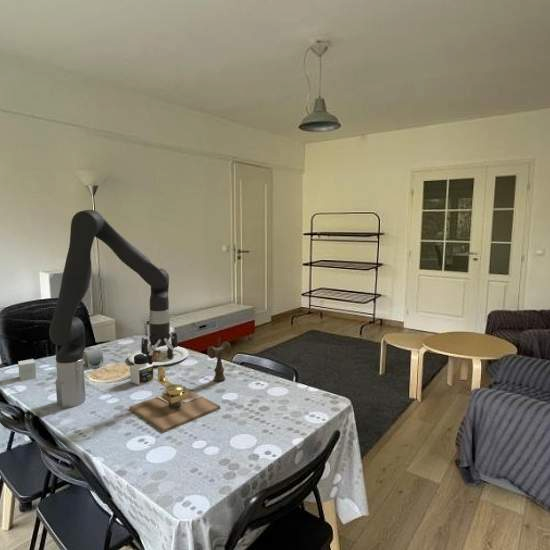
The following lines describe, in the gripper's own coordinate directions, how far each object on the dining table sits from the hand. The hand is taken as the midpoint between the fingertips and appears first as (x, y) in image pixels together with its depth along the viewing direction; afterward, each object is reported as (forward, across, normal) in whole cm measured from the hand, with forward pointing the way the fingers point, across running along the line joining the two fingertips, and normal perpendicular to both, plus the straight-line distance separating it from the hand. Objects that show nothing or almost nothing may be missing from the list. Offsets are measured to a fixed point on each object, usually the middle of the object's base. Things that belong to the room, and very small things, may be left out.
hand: (160, 361), depth 153 cm
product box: (+17, -30, +63) cm, 71 cm away
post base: (+16, 0, -10) cm, 19 cm away
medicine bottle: (+16, +4, +22) cm, 28 cm away
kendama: (+16, +29, -1) cm, 33 cm away
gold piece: (+11, 0, -6) cm, 13 cm away
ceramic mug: (+17, -2, +57) cm, 60 cm away
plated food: (+17, +25, +44) cm, 54 cm away
